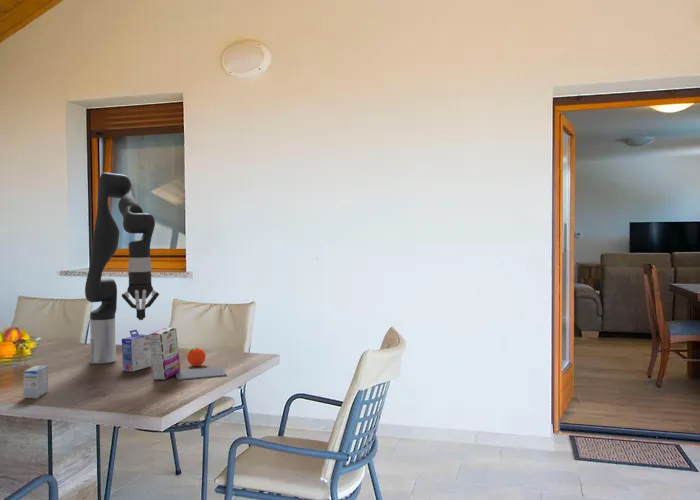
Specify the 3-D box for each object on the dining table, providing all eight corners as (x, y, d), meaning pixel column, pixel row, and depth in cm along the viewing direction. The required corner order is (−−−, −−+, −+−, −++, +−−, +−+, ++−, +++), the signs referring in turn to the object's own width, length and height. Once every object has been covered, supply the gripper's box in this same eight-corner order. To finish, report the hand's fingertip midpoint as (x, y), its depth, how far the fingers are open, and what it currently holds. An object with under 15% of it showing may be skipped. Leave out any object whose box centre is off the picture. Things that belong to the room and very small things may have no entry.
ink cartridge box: (140, 365, 236) (140, 328, 236) (151, 366, 234) (151, 329, 233) (121, 370, 227) (120, 331, 227) (132, 372, 225) (132, 332, 224)
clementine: (186, 369, 229) (186, 350, 229) (182, 365, 235) (182, 347, 235) (207, 366, 233) (207, 348, 233) (203, 363, 239) (202, 345, 239)
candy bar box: (168, 371, 223) (164, 327, 222) (180, 371, 222) (177, 327, 221) (152, 380, 212) (148, 333, 211) (165, 380, 211) (161, 333, 210)
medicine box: (34, 392, 197) (33, 365, 197) (48, 391, 197) (48, 365, 197) (23, 398, 189) (22, 371, 189) (38, 398, 189) (37, 370, 189)
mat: (177, 380, 212) (177, 378, 212) (173, 371, 225) (173, 370, 225) (226, 375, 218) (226, 374, 218) (220, 367, 231) (220, 366, 231)
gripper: (159, 269, 219) (159, 317, 219) (119, 270, 214) (120, 319, 214) (160, 270, 212) (161, 320, 212) (119, 271, 207) (120, 322, 207)
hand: (140, 319), depth 213 cm, fingers closed
